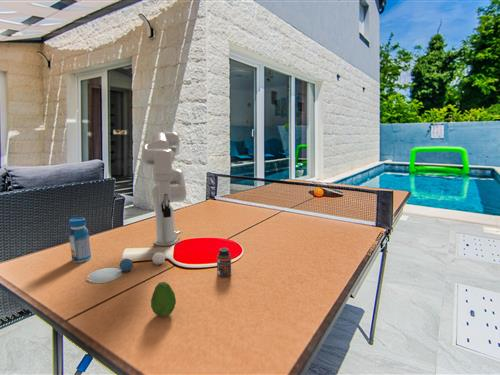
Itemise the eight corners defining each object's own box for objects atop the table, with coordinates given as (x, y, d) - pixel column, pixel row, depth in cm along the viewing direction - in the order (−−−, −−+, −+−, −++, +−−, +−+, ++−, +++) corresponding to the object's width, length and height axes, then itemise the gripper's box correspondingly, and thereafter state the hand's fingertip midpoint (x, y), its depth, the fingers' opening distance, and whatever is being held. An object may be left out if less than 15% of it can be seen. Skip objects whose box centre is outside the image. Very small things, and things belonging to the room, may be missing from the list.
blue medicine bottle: (86, 263, 149) (81, 221, 145) (68, 263, 149) (62, 221, 145) (94, 255, 157) (90, 216, 153) (77, 255, 158) (73, 216, 154)
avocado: (167, 324, 103) (164, 289, 101) (147, 318, 106) (144, 285, 103) (181, 310, 110) (179, 278, 108) (162, 306, 113) (159, 274, 111)
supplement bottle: (218, 278, 133) (217, 253, 131) (216, 272, 138) (215, 247, 136) (232, 276, 134) (232, 251, 132) (229, 270, 140) (229, 246, 138)
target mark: (108, 265, 146) (108, 265, 146) (128, 272, 139) (128, 272, 139) (78, 278, 134) (78, 277, 134) (99, 286, 127) (99, 286, 127)
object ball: (127, 267, 144) (126, 255, 143) (136, 269, 142) (135, 258, 141) (117, 271, 140) (116, 260, 139) (125, 274, 137) (124, 262, 136)
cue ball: (159, 260, 151) (158, 249, 150) (167, 263, 148) (167, 251, 147) (150, 265, 146) (149, 253, 145) (158, 267, 144) (157, 256, 142)
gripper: (154, 175, 151) (156, 211, 154) (156, 180, 135) (159, 220, 138) (170, 174, 154) (172, 209, 156) (174, 179, 137) (176, 218, 140)
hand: (166, 214), depth 147 cm, fingers open, 9 cm apart
